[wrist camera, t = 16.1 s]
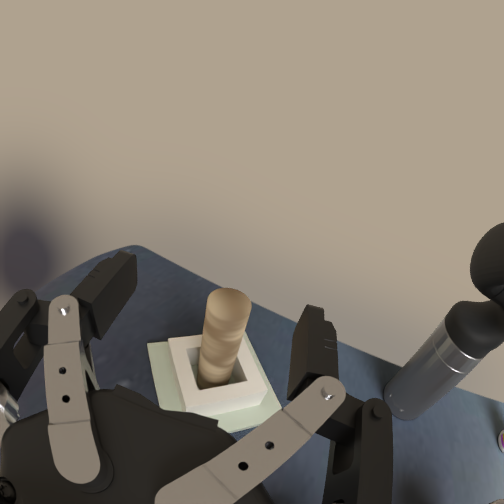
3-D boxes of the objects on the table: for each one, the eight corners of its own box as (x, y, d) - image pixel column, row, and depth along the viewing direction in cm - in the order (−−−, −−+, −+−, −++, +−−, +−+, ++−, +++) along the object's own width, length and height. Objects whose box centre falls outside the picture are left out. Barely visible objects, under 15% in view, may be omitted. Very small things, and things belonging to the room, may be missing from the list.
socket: (243, 335, 46) (250, 313, 43) (283, 418, 35) (296, 402, 32) (147, 347, 40) (145, 324, 37) (169, 444, 28) (168, 432, 25)
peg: (222, 366, 39) (242, 286, 30) (232, 391, 36) (258, 315, 27) (193, 371, 37) (202, 290, 28) (201, 398, 34) (214, 322, 25)
